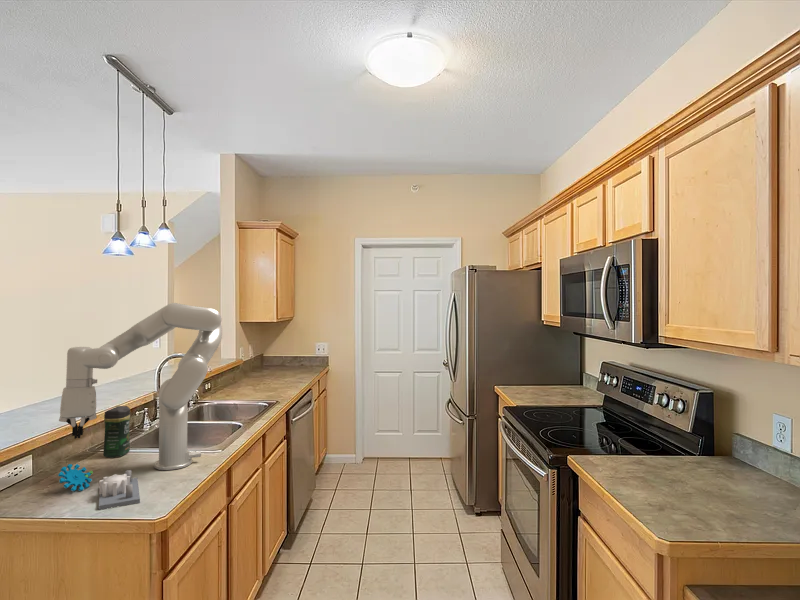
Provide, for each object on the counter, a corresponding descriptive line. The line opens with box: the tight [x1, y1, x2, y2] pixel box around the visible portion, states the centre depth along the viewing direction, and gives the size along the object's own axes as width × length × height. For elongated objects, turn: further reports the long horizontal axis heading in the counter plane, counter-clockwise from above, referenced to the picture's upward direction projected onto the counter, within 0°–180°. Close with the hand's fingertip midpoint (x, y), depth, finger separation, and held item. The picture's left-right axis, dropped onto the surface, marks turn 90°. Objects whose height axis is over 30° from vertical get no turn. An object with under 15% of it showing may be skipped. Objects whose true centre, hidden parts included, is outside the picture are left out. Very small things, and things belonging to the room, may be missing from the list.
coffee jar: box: [103, 405, 131, 459], centre depth 193 cm, size 10×8×19 cm
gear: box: [57, 463, 94, 492], centre depth 159 cm, size 11×6×10 cm
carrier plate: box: [98, 469, 141, 511], centre depth 154 cm, size 11×20×5 cm, turn 30°
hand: (77, 437), depth 168 cm, fingers closed
